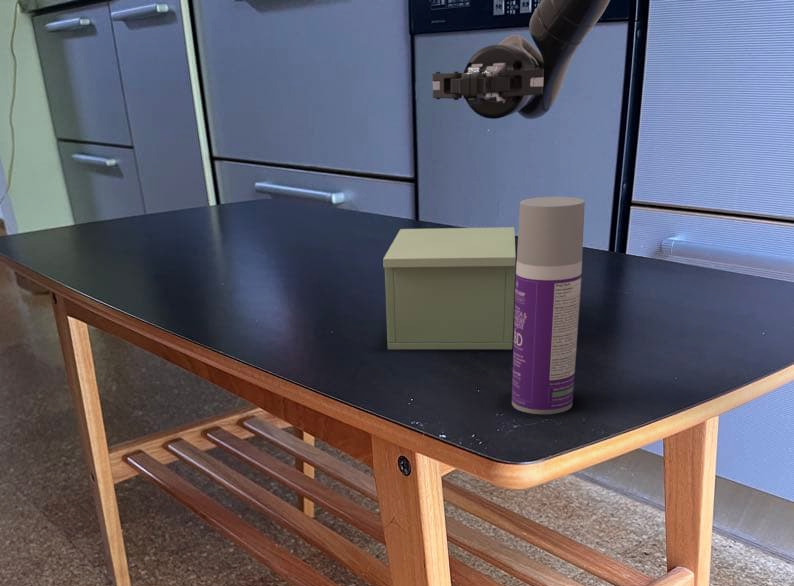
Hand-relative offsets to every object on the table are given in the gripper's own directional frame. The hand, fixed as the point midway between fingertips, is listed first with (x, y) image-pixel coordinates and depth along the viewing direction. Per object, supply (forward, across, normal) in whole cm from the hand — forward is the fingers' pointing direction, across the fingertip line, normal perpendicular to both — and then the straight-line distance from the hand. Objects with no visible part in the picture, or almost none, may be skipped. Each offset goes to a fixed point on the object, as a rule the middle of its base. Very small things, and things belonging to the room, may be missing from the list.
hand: (470, 86), depth 89 cm
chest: (+14, +1, +21) cm, 25 cm away
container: (+33, +13, +22) cm, 42 cm away
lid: (+14, +1, +13) cm, 20 cm away
